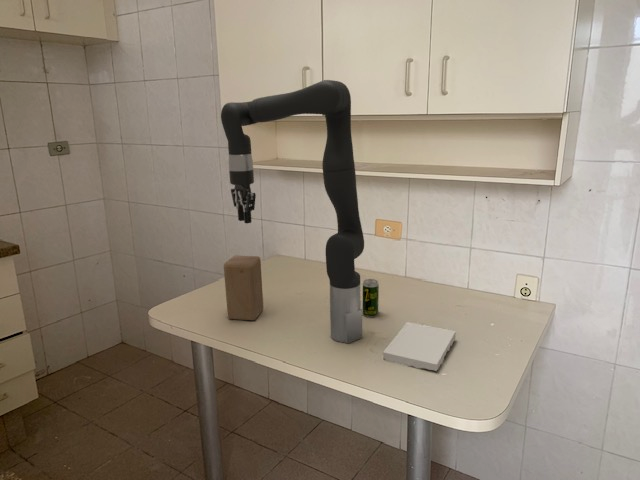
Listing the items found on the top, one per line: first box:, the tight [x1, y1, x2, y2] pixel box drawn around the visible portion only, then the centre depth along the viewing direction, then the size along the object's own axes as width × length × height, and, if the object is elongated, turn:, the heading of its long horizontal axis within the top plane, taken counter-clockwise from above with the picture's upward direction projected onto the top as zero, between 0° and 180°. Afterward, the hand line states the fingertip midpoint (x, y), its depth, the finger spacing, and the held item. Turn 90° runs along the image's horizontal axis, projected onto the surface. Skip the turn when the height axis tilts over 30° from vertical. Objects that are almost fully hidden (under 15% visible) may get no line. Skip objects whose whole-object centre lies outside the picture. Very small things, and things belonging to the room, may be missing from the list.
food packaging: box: [382, 321, 457, 372], centre depth 134 cm, size 15×3×20 cm
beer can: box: [362, 278, 380, 319], centre depth 156 cm, size 5×5×12 cm
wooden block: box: [223, 255, 264, 321], centre depth 158 cm, size 10×10×20 cm
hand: (244, 221), depth 150 cm, fingers open, 4 cm apart
